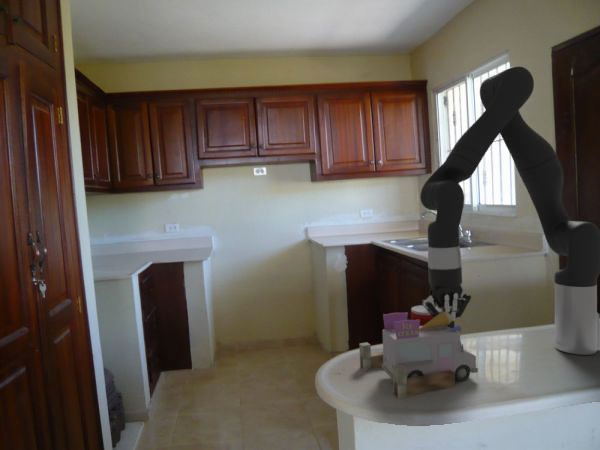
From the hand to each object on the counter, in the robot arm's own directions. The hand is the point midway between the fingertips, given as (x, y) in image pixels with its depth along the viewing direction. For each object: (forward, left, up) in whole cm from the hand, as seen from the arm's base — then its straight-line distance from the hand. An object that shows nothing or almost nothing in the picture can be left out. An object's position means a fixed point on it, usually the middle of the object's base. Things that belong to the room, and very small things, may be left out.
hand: (448, 335), depth 105 cm
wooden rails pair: (+13, +1, -8) cm, 15 cm away
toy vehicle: (+8, +4, -8) cm, 12 cm away
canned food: (-2, -12, -8) cm, 15 cm away
